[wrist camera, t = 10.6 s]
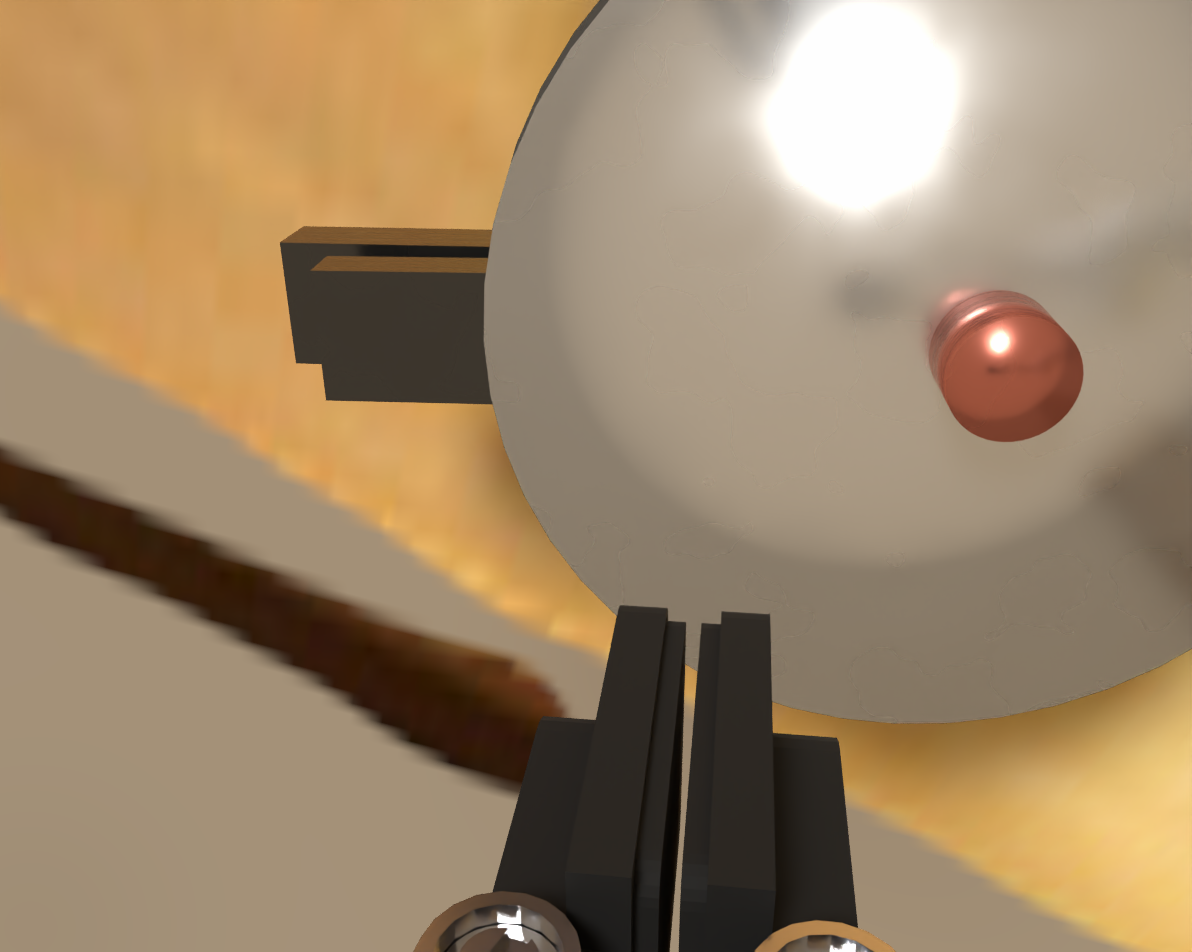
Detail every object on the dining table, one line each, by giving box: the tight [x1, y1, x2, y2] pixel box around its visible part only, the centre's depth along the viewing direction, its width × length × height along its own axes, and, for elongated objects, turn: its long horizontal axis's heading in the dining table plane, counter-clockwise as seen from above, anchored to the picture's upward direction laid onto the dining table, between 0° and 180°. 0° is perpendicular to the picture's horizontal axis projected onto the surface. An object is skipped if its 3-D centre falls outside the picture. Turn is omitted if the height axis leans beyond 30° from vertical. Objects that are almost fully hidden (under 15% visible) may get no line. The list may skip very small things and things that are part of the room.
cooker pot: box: [280, 0, 609, 364], centre depth 30 cm, size 25×20×10 cm
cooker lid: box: [310, 0, 1192, 723], centre depth 24 cm, size 23×20×3 cm
